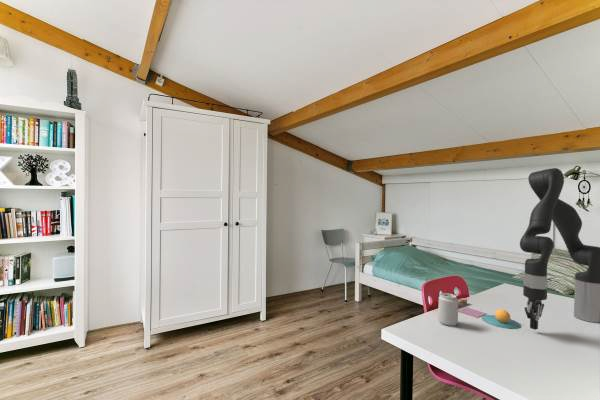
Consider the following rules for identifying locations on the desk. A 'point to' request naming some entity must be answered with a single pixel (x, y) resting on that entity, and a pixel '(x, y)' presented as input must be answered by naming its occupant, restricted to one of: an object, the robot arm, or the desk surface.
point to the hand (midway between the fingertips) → (533, 328)
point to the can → (448, 309)
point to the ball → (502, 316)
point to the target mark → (493, 321)
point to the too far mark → (472, 312)
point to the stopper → (462, 301)
